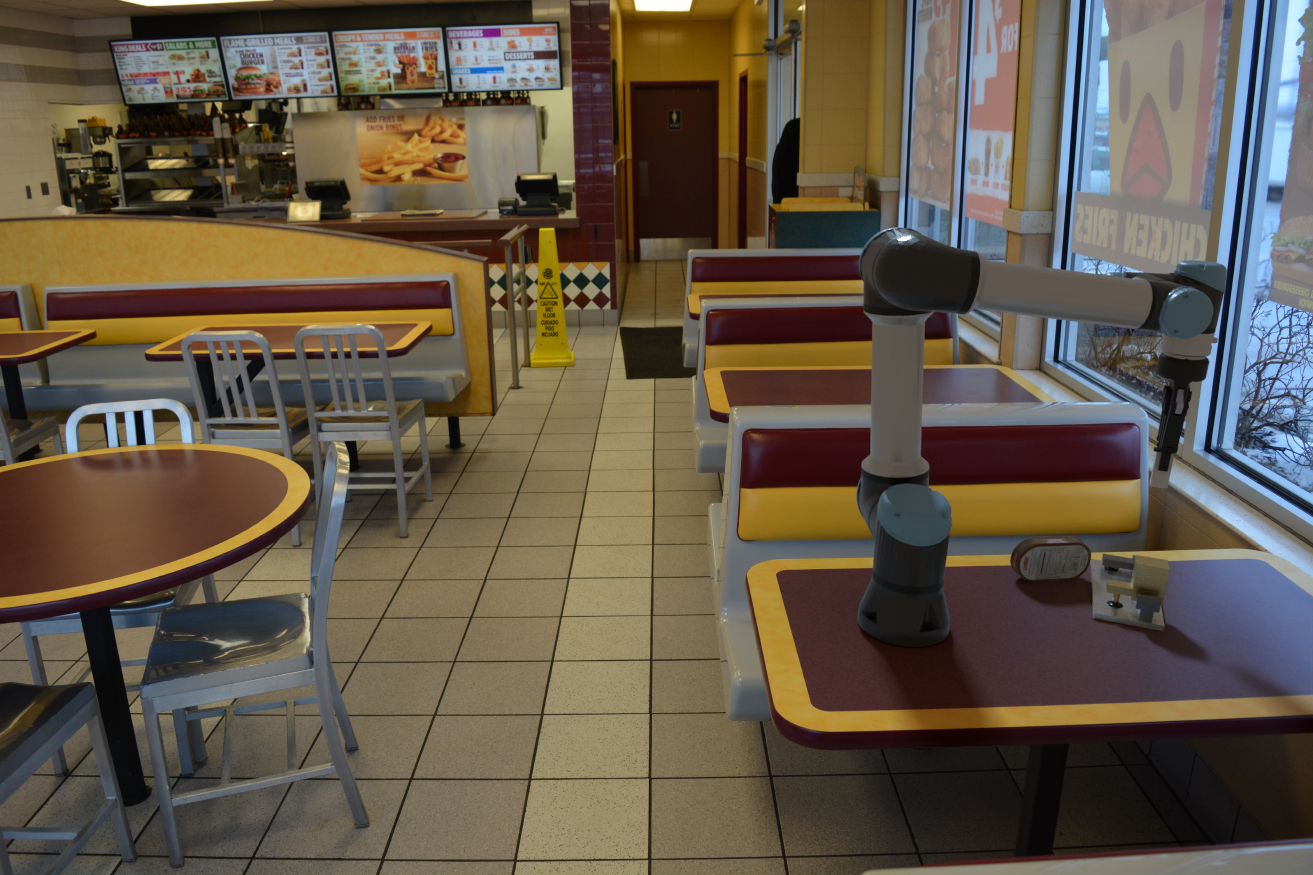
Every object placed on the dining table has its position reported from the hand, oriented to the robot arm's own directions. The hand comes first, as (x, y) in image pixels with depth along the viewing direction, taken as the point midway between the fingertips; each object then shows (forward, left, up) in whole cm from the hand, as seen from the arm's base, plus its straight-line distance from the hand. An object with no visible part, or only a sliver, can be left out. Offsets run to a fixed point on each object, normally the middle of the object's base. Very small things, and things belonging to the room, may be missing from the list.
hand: (1158, 486), depth 168 cm
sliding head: (-2, -8, -20) cm, 22 cm away
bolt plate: (-2, -1, -21) cm, 21 cm away
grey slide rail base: (-2, -1, -20) cm, 20 cm away
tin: (-15, 0, -22) cm, 26 cm away
